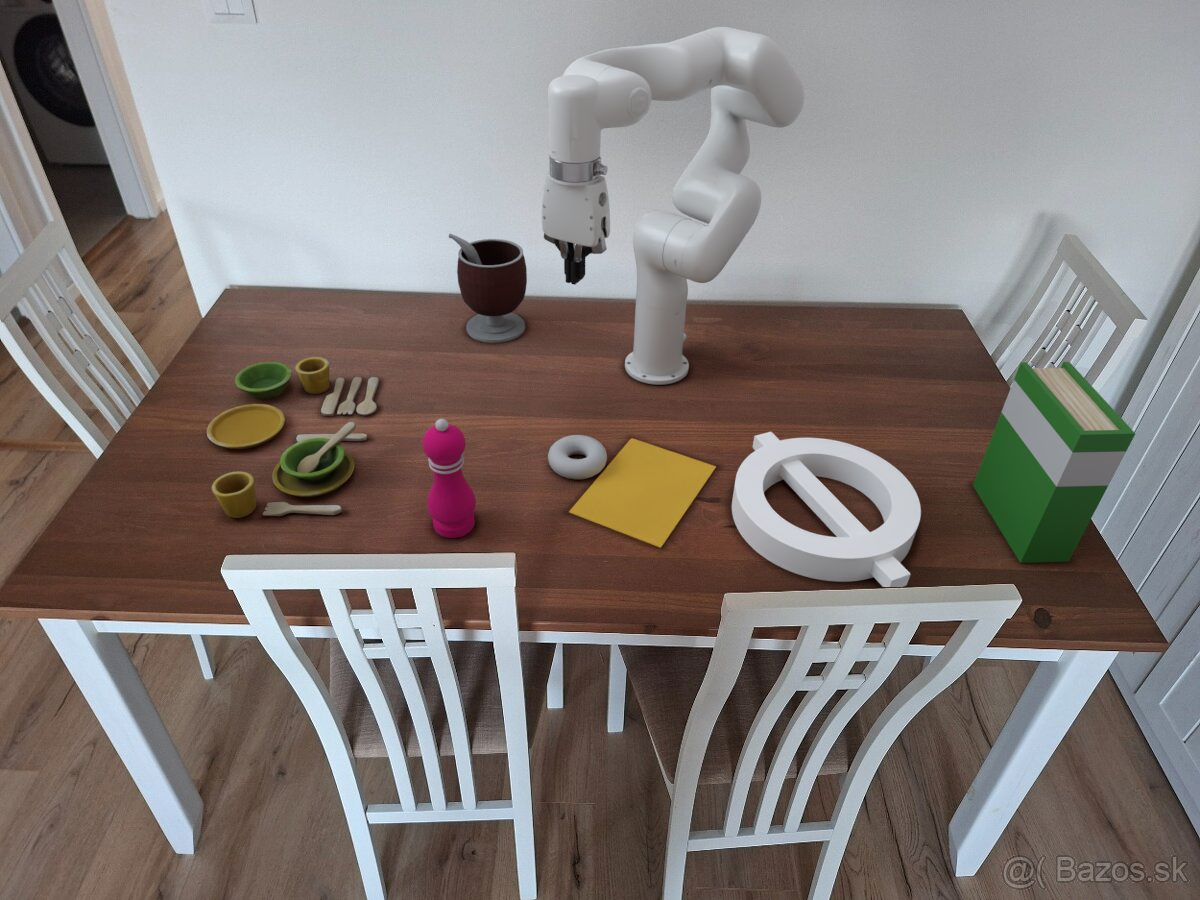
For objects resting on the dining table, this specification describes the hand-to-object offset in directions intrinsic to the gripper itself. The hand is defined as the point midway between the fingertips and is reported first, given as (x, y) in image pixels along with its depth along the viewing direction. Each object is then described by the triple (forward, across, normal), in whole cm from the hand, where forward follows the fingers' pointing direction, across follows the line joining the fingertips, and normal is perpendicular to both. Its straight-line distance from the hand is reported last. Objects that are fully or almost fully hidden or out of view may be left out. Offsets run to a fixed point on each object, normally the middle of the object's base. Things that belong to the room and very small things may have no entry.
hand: (574, 280), depth 134 cm
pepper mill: (+27, +2, +34) cm, 44 cm away
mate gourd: (+27, +31, -19) cm, 45 cm away
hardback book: (+27, -75, -10) cm, 80 cm away
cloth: (+27, -20, +12) cm, 36 cm away
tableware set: (+27, +40, +31) cm, 57 cm away
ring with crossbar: (+27, -47, +4) cm, 55 cm away
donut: (+28, -7, +12) cm, 31 cm away
